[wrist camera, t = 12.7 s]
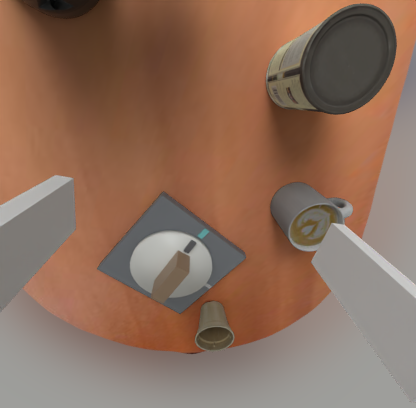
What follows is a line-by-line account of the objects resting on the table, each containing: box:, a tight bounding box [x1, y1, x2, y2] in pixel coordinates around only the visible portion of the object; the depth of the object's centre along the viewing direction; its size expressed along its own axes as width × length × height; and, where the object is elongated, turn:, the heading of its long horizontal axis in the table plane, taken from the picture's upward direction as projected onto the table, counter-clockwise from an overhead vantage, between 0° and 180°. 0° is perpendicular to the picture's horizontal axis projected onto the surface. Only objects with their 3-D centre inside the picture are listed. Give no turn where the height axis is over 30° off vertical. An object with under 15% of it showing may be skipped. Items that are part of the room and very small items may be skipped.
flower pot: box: [195, 301, 234, 351], centre depth 56 cm, size 9×9×9 cm
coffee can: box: [266, 4, 397, 115], centre depth 30 cm, size 10×10×14 cm
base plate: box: [97, 191, 246, 314], centre depth 51 cm, size 24×24×2 cm
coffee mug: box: [270, 182, 353, 251], centre depth 43 cm, size 13×10×10 cm
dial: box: [130, 230, 212, 303], centre depth 47 cm, size 18×18×6 cm
